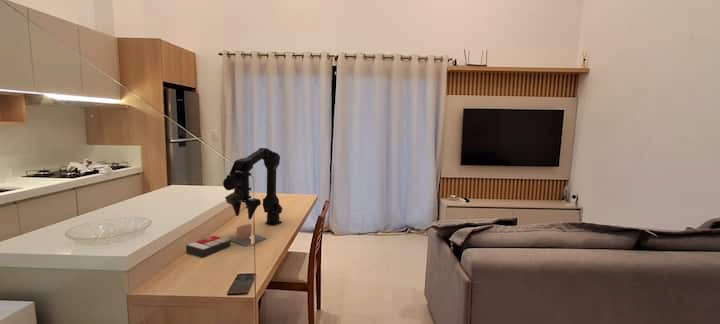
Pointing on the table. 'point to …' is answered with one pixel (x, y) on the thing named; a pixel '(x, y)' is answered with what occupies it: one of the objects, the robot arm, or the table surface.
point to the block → (243, 231)
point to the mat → (247, 240)
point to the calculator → (207, 246)
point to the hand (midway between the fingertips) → (243, 217)
